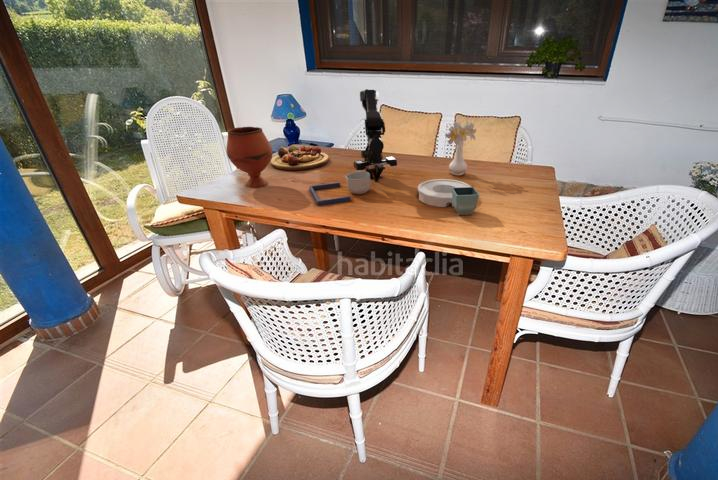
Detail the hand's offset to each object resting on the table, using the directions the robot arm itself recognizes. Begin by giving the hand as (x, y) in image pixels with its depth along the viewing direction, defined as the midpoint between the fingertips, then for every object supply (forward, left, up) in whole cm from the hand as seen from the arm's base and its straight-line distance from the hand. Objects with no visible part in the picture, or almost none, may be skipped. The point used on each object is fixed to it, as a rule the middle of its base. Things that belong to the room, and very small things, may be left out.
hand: (376, 182), depth 162 cm
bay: (+21, 0, -3) cm, 22 cm away
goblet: (+51, -27, -3) cm, 58 cm away
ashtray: (-24, +21, -3) cm, 32 cm away
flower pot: (-23, +39, -3) cm, 45 cm away
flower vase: (-45, -4, -3) cm, 45 cm away
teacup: (+8, 0, -3) cm, 9 cm away
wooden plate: (+26, -56, -3) cm, 62 cm away
